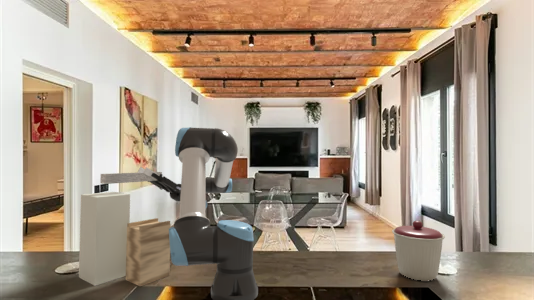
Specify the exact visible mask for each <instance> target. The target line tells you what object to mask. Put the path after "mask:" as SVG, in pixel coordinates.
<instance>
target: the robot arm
mask: <svg viewBox="0 0 534 300" xmlns="http://www.w3.org/2000/svg"><path fill="white" fill-rule="evenodd" d="M238 150H239V149H238V144H237V142H236V140H235V138H234V137H233V136H232V135H231V134H230V133H229V132H228V131H226V130H224V129H222V128H216V127H215V128H210V127H209V128H207V127H192V126H191V127H181V128H179V129H178V132H177V134H176V139H175V146H174V152H175V153H174V154H175V156H176V157H177V158H178V160H179V161H180V162H181V165H182V166H181V182H180V183H176V182H174V181H172V180H171V179H169V178H168V177H166V176H164V175H163V173H162V174H160V176H159V175H158V174H157V173H155V172H156V171H153V170H152V169H150V168H149V167H145V168H143V167H142V166H140V167H139V169H138V171H137V172H136V173H138V172H144V173H143V174H145V175H147V176H148V177H150V178H152V179H153V180H155V181H147V183H151V184H152V185H154V186H155V187H157V188H159V189H160V190H164V192H166V193H168V194H169V197H170V199H172V200H173V201H176V202H177V203H178V204H179V217H178V218H177V219H175V221H174V223H173V226H171V228H169V242H170V262H171V263H172V264H173V266H176V267H177V266H179V267H181V266H183V267H184V266H185V267H188V266H198V265H199V266H201V265H215V264H216V272H215V275H214V279H213V281H212V284H211V287H210V297H211V299H212V300H255V299H256V298H257V297H258V296H259V295H258V294H259V287H258V284H257V281H256V278H255V273H254V270H253V269H254V266H253V265H254V242H255V239H254V230H253V226H252V225H250V224H249V223H247V222H243V221H239V220H233V219H220V220H219V221H218V222H217V223H216V225H211V221H210V219H209V218H207V215H206V209H207V208H208V201H207V199H206V194H227V193H231V192H232V191H233V179H232V178H231V175H232V174H231V173H232V170H233V169H232V168H233V163H234V162H235V160H236V159H237V156H238ZM210 158H216V160H215V168H214V177H213V178H212V177H211V178H210V177H206V175H207V174H206V173H207V171H206V166H207V165H206V164H207V163H208V162H209V161H210ZM156 180H157V181H156Z"/></svg>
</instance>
